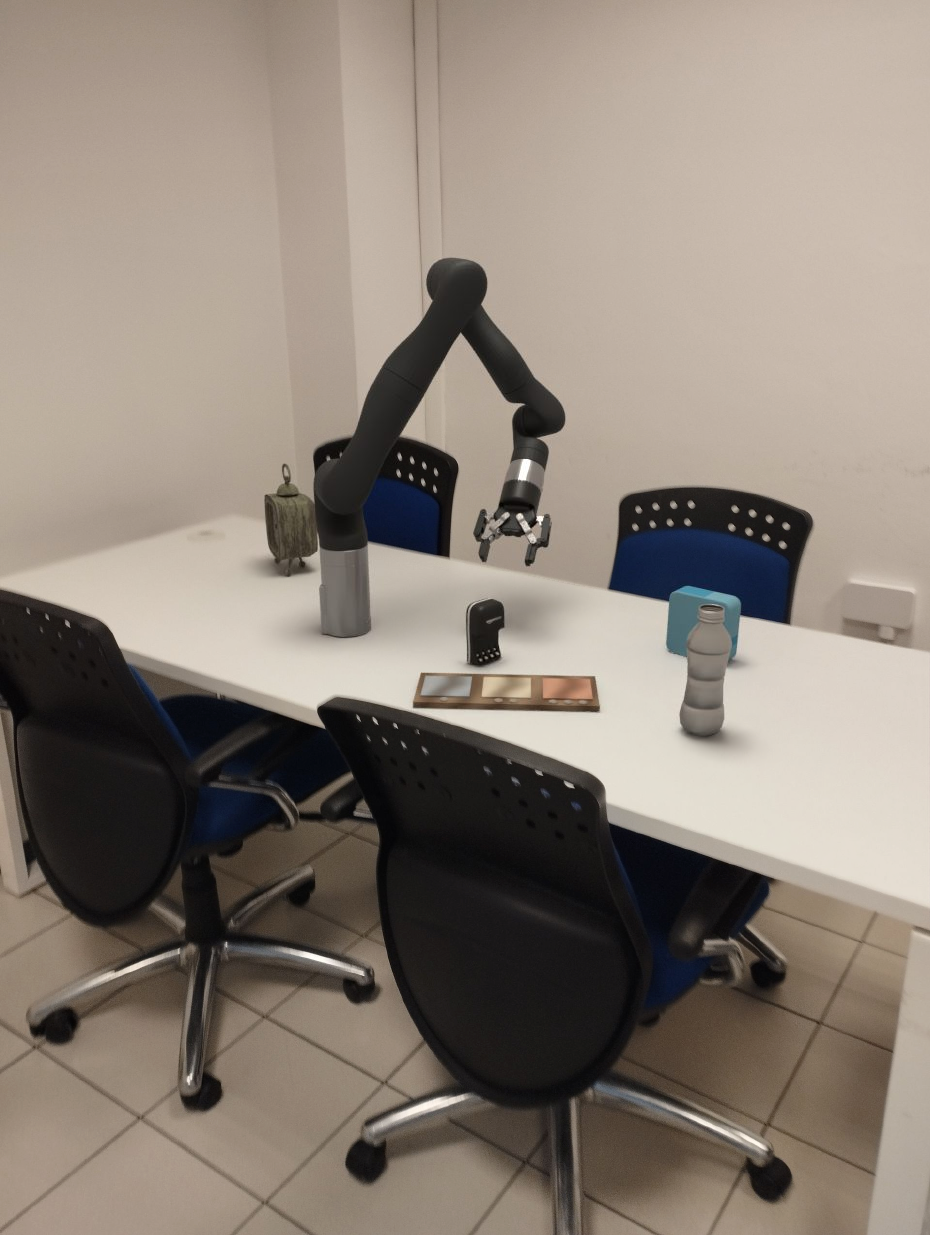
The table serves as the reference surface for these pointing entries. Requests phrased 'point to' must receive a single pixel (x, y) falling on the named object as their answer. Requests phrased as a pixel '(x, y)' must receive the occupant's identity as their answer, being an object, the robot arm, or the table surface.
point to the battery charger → (484, 631)
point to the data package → (685, 616)
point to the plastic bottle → (706, 672)
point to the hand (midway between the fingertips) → (505, 562)
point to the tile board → (507, 692)
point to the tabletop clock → (290, 523)
